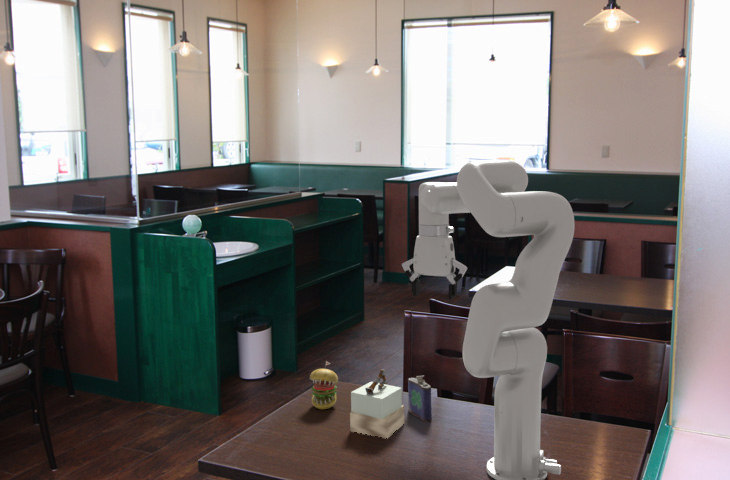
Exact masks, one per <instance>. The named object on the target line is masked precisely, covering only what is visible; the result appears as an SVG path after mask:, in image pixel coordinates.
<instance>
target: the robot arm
mask: <svg viewBox="0 0 730 480" xmlns="http://www.w3.org/2000/svg"><path fill="white" fill-rule="evenodd" d="M528 183H529V177H528V173H527V171H526V169H525V168H524V167H523V166H522V165H521V164H520V163H518V162H515V161H512V160H501V159H499V160H474V161H473V160H472V161H470V162H467V163H466V164H464V165H463V166H462V167H461V168H460V170H459V172H458V174H457V177H456V182H441V181H428V182H427V181H426V182H423V183H421V184H420V185H419V187H418V235H417V236H416V237H415V238H416V239H415V243H414V244H415V245H414V250H413V257H412V258H411V259H409V260H407V261H404V262H402V263H401V267H402V268H403V271H404V273H405V275H406V277H407V278H408V279H409V281H410V282H411V293H412V297H414V298H415V297H418V296H419V295H420V294H421V280H420V279H419V277H421V276H434V277H446V279H447V280H448V282H449V284H448V300H450V301H452V300H453V299H455V298H456V296H458V295H457V294H458V285H457V284H458V282H459V281H460V280H461V279H462V278H464V275H465V274H466V272H467V270H468V267H467V266H466V265H465V264H463V263H462V262H459V261H458V260H456V256H455V255H456V254H455V246H454V241H453V237H452V236H451V235H450V234H451V233H454V232H455V228H454V227H453V226H450V223H449V221H450V219H449V217H450V216H449V215H451V214H465V213H466V214H468V213H469V214H470V213H471V215H472V216H473V217H474V219H475V221H476V222H477V223H478V224H479V226H480V227H481V228H482V229H483V231H485V233H487V234H488V235H490V236H492V237H495V238H506V237H507V238H509V237H523V236H533V239H531V241H530V242H528V243H527V245H525V246H524V248H523V249H522V251H521V252H520V253H519V256H518V257H517V260H516V261H515V268H514V272H513V274H512V278H511V279H510V280H508V281H506V282H499V283H491V284H487V285H484V286H482V287H480V288H479V289H478V290H477V291H475V294H474V295H473V297H472V300H471V303H470V307H469V308H470V309H469V312H468V317H467V324H466V328H465V333H464V339H463V344H462V361H463V364H464V367H465V369H466V371H467V373H469V374H470V375H471V376H472V377H475V378H479V379H485V378H486V379H487V378H494V377H498V379H497V382H496V384H495V387H494V398H493V400H494V401H493V402H494V403H493V404H494V405H493V408H494V409H493V410H494V411H493V425H494V426H493V457H491V458H490V459H489V460H487V462H486V467H485V468H486V472H487V474H488V475H489V477H491V478H492V479H494V480H546V478H547V476H548V473H550V474H554V475H561V473H562V465H561V464H558V460H557V459H553V458H550V459H549V458H547V457H546V456H544V452H545V451H544V450H543V449H541V423H542V422H541V420H542V417H541V415H542V413H541V412H542V408H541V407H542V383H543V375H544V370H545V366H546V361H547V355H548V345H547V339H546V337H545V335H544V334H543V333H542V331H540V330H539V329H538V328H536V327H539V326H542V325H543V324H545V322H546V321H547V319H548V317H549V315H550V311H551V309H552V305H553V300H554V297H555V293H556V288H557V285H558V281H559V278H560V277H559V276H560V273H561V270H562V267H563V265H564V262H565V260H566V258H567V255H568V253H569V251H570V249H571V245H572V243H573V239H574V234H575V214H574V212H573V208H572V206H571V204H570V202H569V201H568V200H567V199H566V198H565V197H564V196H563V195H561V194H559V193H557V192H552V191H542V190H541V191H539V190H538V191H537V190H536V191H535V190H533V191H532V190H531V191H526V189H527V187H528ZM412 264H413V271H412V270H411V268H410V266H411V265H412ZM456 268H457V269H458V270H459V271H458V272H457V273H458V274H457V275H456V274H455V272H456Z"/></svg>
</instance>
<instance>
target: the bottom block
mask: <svg viewBox="0 0 730 480" xmlns="http://www.w3.org/2000/svg"><path fill="white" fill-rule="evenodd" d="M349 423H350V424H349V425H350V426H349V427H350V429H349V430H350V431H351V432H350V431H349V432H350V433H354V432H357V433H356V434H360V433H362V434H361V435H365V434H367V435H366V436H370V435H371V437H375V436H378V437H377V438H380V437H382V438H381V439H386V438H387V439H386V440H388V439H389V438H390V437H392V436H393V435H394V434H395V433H396V432H397V431H398V430H399V429H400V428H402V426H404V425H405V405H404V404H402V407H401V408H400V409H398V410H396V411H395V412H393V413H392V414H390V415H388V416H387V417H385V418H384V419H379V418H375V417H371V416H367V415H363V414H359V413H354V412H350V413H349ZM403 424H404V425H403ZM396 430H397V431H396ZM395 431H396V432H395ZM394 432H395V433H394ZM393 433H394V434H393Z"/></svg>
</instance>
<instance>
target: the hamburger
mask: <svg viewBox="0 0 730 480" xmlns="http://www.w3.org/2000/svg"><path fill="white" fill-rule="evenodd" d="M329 365H331V362H329V361H327V360H325V367H324V368H317V369H314V370H313V371H312V372H311V373H310V375H309V380H310V381H312V383H313V385H312V387H311V391H312V392H311V394H312V397H311V404H312V405H313V407H315V408H316V409H318V410H327V409H328V410H329V409H330V408H332V407H333V406H334V405H335V404H336V402H337V400H338V399H337V393H338V392H337V390H336V389H338V387H337V385H336V383H337V384H338V381H339V376H338V374H336V372H335V371H333V370H331V369H328V368H326V367H327V366H329Z"/></svg>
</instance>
